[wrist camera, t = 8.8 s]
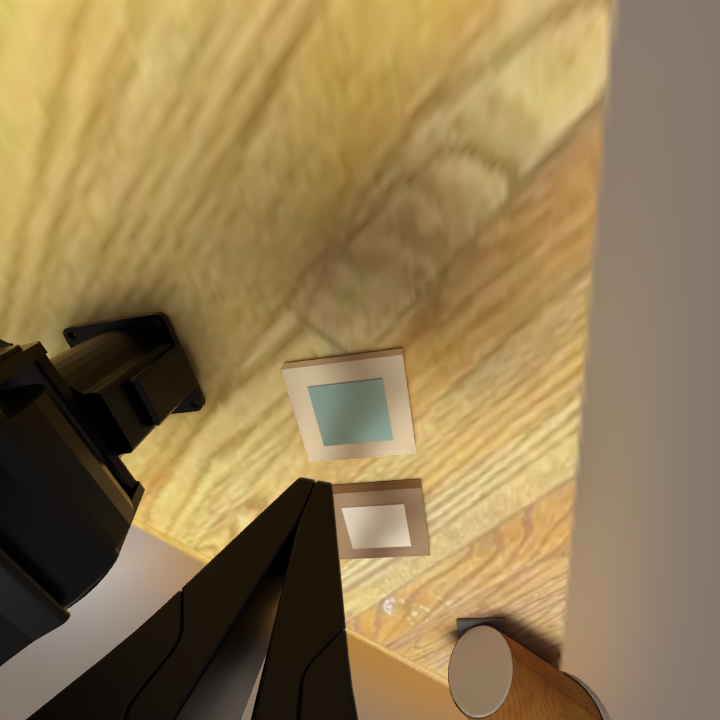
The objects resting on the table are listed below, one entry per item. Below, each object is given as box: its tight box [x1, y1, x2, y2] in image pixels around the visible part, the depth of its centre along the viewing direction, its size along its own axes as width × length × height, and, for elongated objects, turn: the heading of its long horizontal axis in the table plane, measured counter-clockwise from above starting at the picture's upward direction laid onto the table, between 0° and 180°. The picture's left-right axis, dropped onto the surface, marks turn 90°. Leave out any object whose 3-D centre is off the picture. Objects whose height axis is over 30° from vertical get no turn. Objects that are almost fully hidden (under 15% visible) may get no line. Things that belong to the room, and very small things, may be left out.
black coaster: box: [457, 618, 504, 639], centre depth 32 cm, size 4×4×1 cm
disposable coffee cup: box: [448, 625, 612, 720], centre depth 30 cm, size 10×10×12 cm
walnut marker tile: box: [332, 479, 430, 559], centre depth 26 cm, size 7×7×1 cm
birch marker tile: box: [281, 348, 416, 462], centre depth 22 cm, size 7×7×1 cm
